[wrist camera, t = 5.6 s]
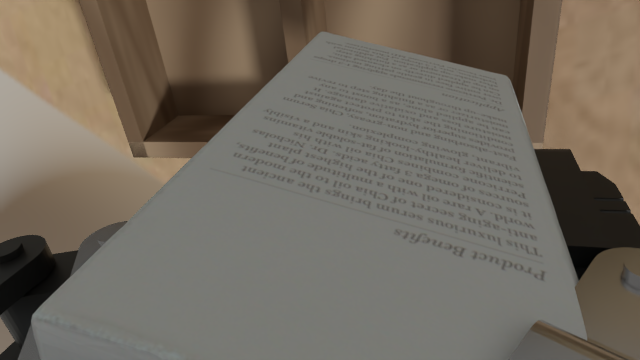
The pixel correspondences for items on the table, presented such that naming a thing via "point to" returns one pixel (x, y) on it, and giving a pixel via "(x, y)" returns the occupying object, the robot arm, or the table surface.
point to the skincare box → (335, 228)
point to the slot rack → (295, 53)
